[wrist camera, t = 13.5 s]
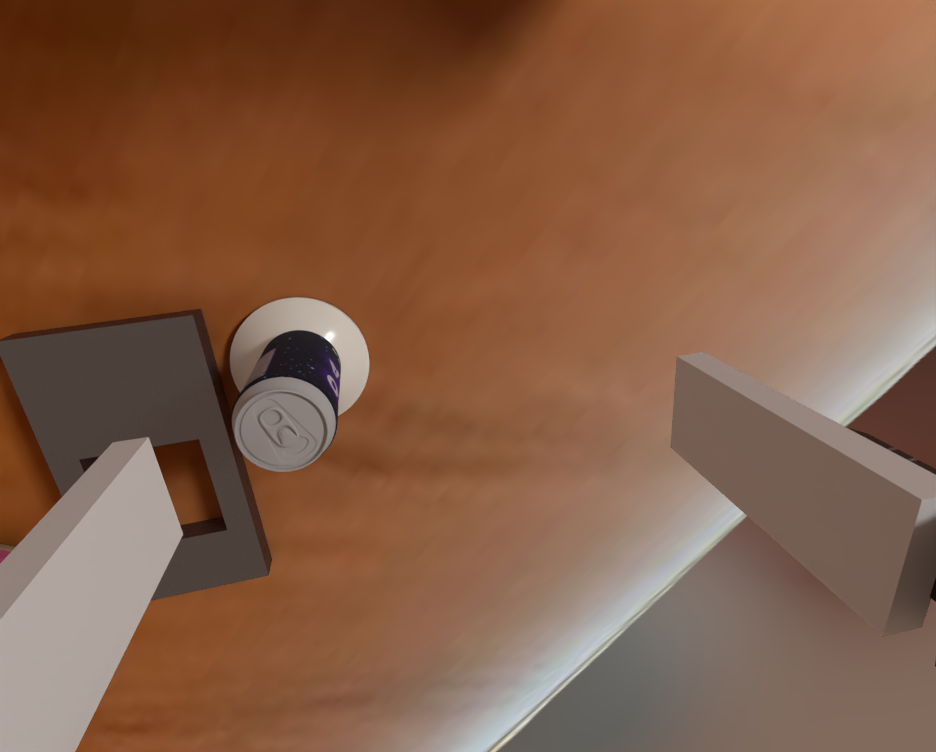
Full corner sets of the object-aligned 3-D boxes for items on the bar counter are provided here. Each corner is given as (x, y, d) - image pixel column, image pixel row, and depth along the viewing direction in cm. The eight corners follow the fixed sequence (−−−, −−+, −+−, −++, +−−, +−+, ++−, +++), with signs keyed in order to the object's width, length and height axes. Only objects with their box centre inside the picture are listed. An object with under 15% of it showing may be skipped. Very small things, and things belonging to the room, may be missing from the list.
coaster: (215, 307, 37) (213, 308, 37) (357, 287, 39) (357, 289, 38) (249, 432, 41) (248, 435, 40) (378, 410, 42) (378, 413, 42)
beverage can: (291, 412, 40) (268, 496, 29) (245, 351, 38) (202, 418, 27) (355, 375, 40) (356, 445, 29) (313, 312, 38) (297, 363, 27)
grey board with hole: (12, 334, 35) (-6, 342, 33) (200, 308, 37) (192, 315, 35) (121, 591, 43) (110, 608, 41) (272, 559, 45) (268, 575, 43)
